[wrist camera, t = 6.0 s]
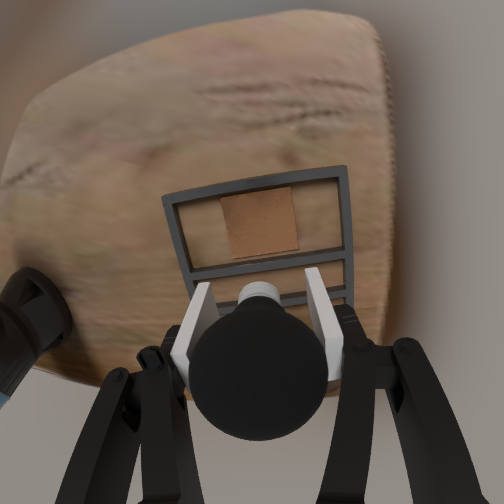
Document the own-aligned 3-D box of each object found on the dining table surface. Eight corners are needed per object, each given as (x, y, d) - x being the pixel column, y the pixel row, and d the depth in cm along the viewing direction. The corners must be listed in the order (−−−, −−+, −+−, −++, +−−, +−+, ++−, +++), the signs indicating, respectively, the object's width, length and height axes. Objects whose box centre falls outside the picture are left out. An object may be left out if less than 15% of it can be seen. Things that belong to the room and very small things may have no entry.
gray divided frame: (215, 362, 39) (214, 367, 38) (164, 194, 30) (161, 196, 29) (349, 344, 37) (351, 349, 36) (343, 165, 28) (346, 166, 27)
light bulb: (312, 317, 18) (342, 448, 9) (229, 334, 19) (210, 464, 10) (295, 237, 16) (336, 363, 7) (200, 260, 17) (144, 389, 7)
